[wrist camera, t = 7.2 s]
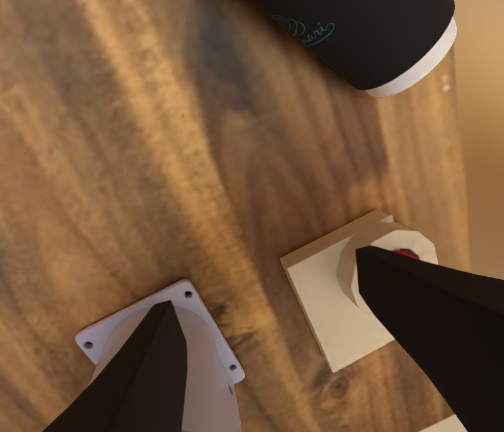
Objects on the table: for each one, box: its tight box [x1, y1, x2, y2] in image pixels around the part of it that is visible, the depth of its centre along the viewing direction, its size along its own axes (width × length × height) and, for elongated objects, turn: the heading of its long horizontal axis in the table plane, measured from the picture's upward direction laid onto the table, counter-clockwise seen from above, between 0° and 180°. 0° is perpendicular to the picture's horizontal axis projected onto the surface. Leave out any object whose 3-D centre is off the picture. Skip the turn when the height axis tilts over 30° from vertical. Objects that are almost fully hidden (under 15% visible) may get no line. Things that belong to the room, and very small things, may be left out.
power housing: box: [279, 209, 438, 373], centre depth 20 cm, size 10×9×4 cm
